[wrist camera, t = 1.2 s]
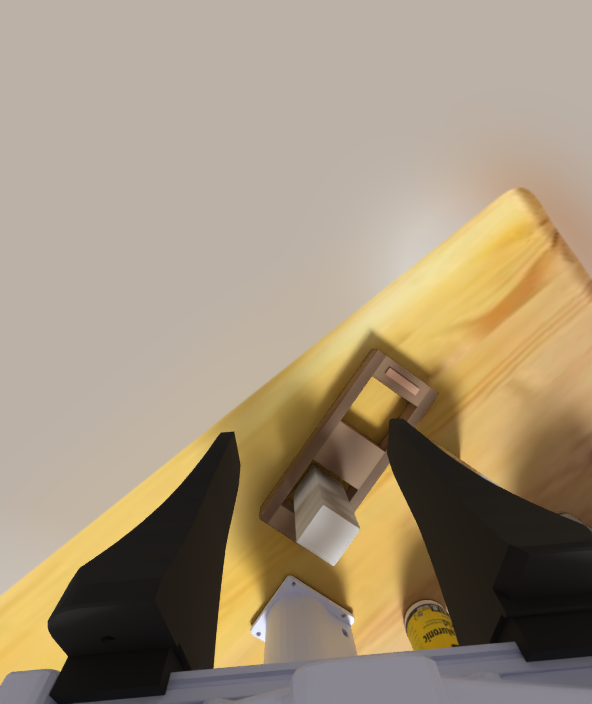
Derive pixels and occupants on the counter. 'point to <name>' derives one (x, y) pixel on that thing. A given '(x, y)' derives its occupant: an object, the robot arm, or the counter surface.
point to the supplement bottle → (429, 626)
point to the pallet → (340, 465)
